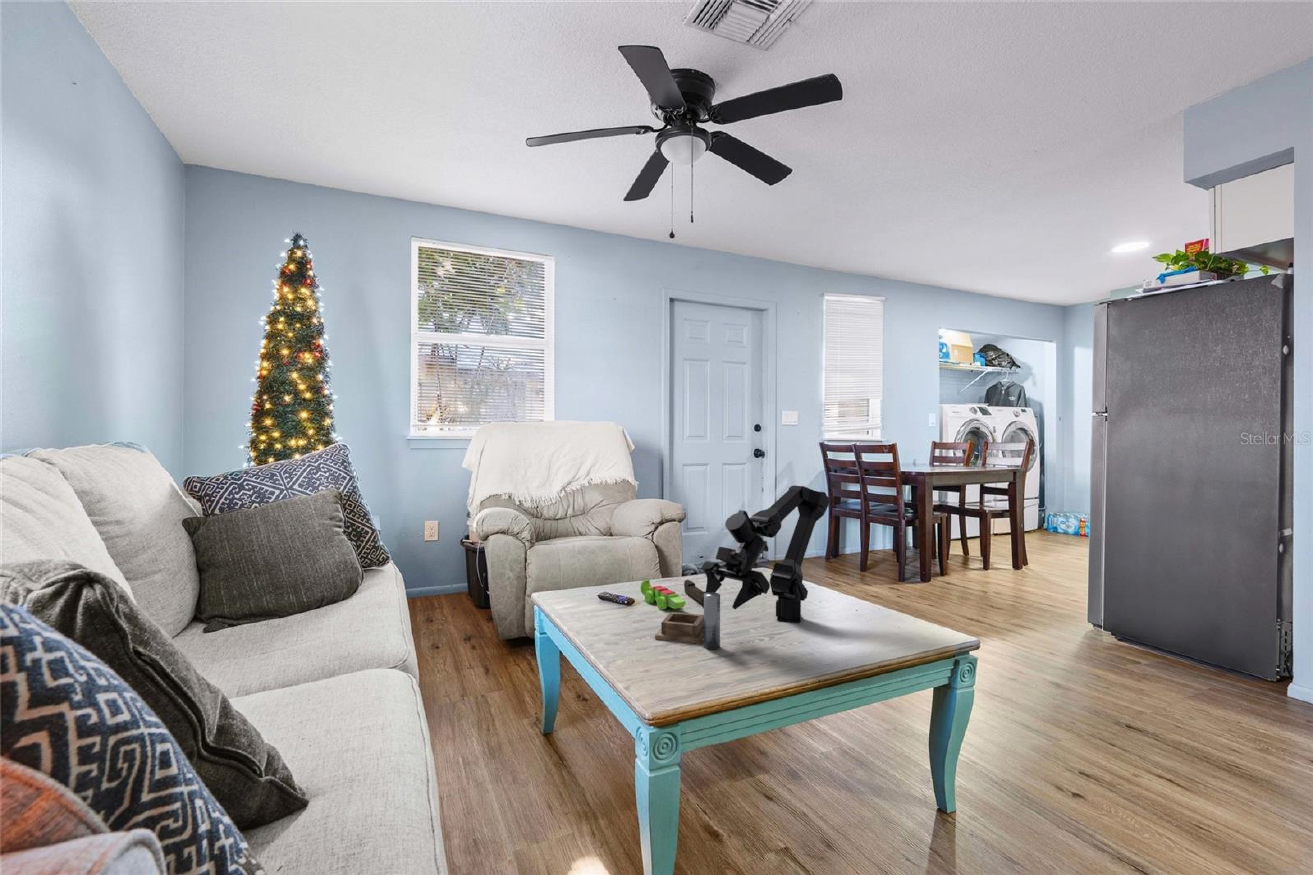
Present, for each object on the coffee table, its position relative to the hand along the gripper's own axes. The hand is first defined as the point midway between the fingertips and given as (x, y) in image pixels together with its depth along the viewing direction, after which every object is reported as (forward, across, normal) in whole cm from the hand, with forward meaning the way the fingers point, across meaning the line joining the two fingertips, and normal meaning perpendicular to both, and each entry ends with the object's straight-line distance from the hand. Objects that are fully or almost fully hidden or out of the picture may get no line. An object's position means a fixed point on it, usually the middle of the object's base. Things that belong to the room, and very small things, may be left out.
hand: (719, 604), depth 149 cm
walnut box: (+8, -12, +6) cm, 15 cm away
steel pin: (+9, 0, +5) cm, 10 cm away
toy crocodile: (-2, -34, +17) cm, 38 cm away
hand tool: (-10, -32, +25) cm, 42 cm away
